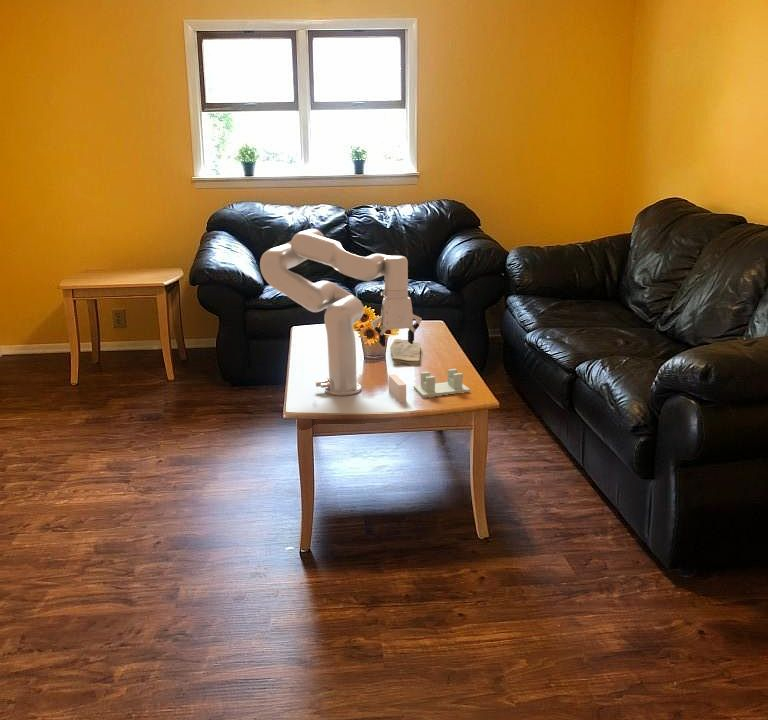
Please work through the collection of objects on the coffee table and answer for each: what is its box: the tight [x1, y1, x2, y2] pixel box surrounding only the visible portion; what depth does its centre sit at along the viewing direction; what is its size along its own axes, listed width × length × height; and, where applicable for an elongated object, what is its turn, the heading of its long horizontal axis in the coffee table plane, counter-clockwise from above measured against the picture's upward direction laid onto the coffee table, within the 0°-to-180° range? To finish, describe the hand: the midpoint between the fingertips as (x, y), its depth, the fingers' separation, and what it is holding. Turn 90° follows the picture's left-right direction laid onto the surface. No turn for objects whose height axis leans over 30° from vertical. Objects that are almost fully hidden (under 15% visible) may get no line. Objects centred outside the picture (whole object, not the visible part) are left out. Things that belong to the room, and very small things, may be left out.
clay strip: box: [387, 373, 407, 403], centre depth 257 cm, size 12×2×6 cm, turn 17°
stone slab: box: [389, 338, 422, 366], centre depth 306 cm, size 12×4×30 cm
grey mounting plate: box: [412, 368, 471, 399], centre depth 261 cm, size 17×10×6 cm, turn 106°
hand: (396, 344), depth 253 cm, fingers open, 9 cm apart
